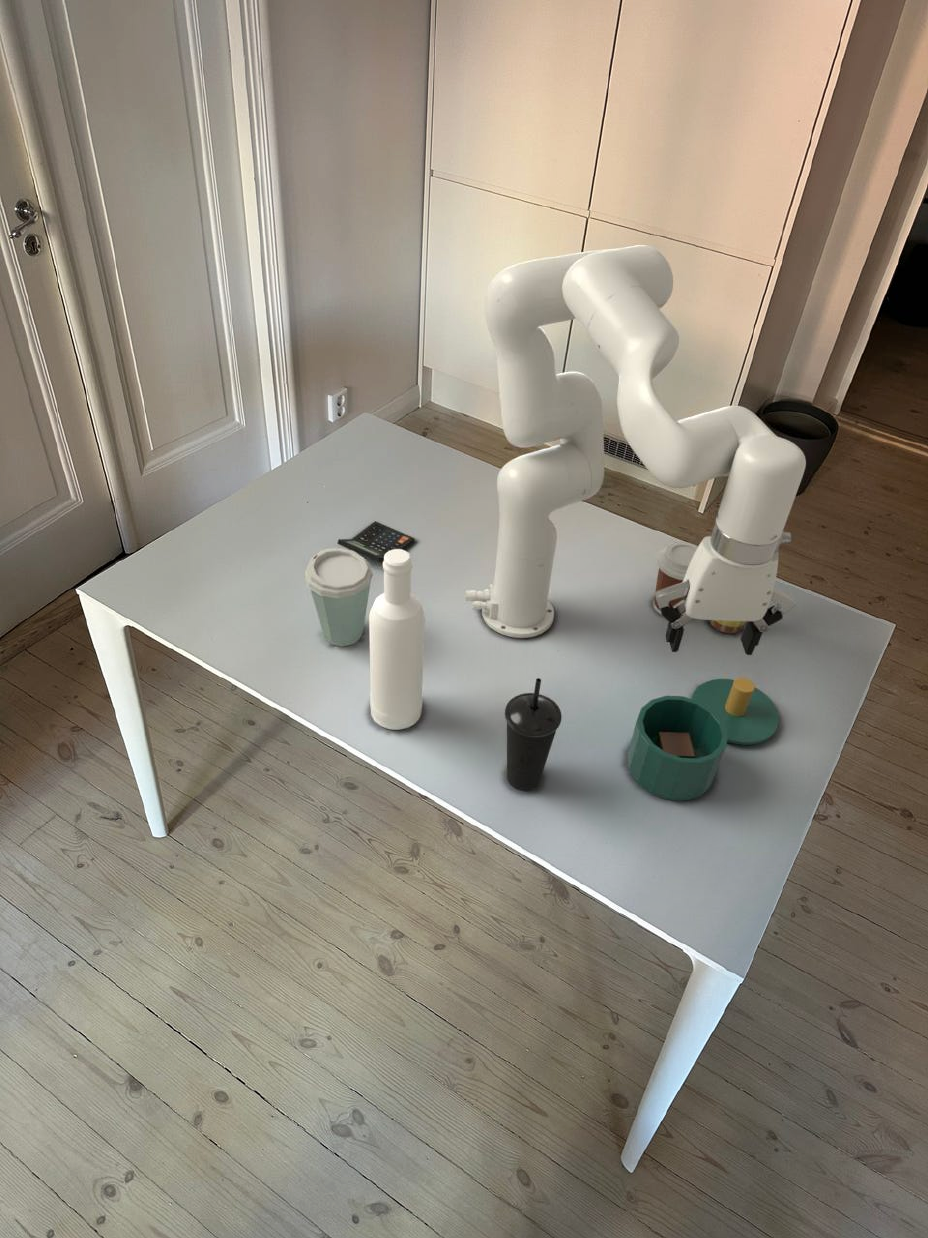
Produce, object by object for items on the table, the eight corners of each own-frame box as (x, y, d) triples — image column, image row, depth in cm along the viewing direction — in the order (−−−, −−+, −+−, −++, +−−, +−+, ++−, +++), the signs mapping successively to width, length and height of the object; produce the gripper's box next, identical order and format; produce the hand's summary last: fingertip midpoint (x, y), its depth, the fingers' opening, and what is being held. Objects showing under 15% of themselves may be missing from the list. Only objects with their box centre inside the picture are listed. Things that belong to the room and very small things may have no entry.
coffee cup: (699, 598, 160) (715, 545, 152) (692, 628, 154) (709, 574, 146) (650, 585, 162) (663, 532, 154) (641, 615, 156) (654, 561, 148)
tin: (634, 799, 125) (645, 761, 119) (621, 732, 134) (631, 694, 129) (721, 802, 125) (736, 764, 120) (702, 735, 135) (716, 697, 129)
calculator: (414, 541, 168) (414, 529, 166) (377, 571, 161) (377, 558, 159) (375, 524, 172) (375, 512, 170) (337, 553, 164) (337, 540, 162)
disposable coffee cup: (385, 626, 150) (384, 556, 140) (353, 665, 142) (350, 594, 132) (331, 607, 153) (327, 537, 143) (297, 644, 145) (290, 572, 135)
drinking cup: (494, 757, 129) (506, 659, 116) (545, 756, 130) (562, 659, 117) (499, 799, 123) (513, 702, 110) (553, 798, 124) (572, 700, 111)
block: (657, 775, 128) (664, 755, 125) (652, 751, 131) (658, 731, 128) (688, 776, 128) (695, 756, 125) (682, 752, 131) (689, 732, 128)
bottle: (402, 739, 131) (404, 582, 111) (359, 716, 134) (355, 560, 114) (431, 706, 136) (439, 552, 116) (390, 685, 139) (391, 531, 119)
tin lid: (699, 746, 133) (710, 716, 129) (682, 682, 143) (691, 652, 139) (787, 749, 134) (801, 719, 129) (764, 685, 144) (775, 655, 139)
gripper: (807, 524, 106) (767, 629, 117) (665, 517, 105) (638, 624, 116) (826, 562, 100) (782, 669, 111) (677, 555, 99) (648, 664, 111)
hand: (709, 646), depth 114 cm, fingers open, 9 cm apart
